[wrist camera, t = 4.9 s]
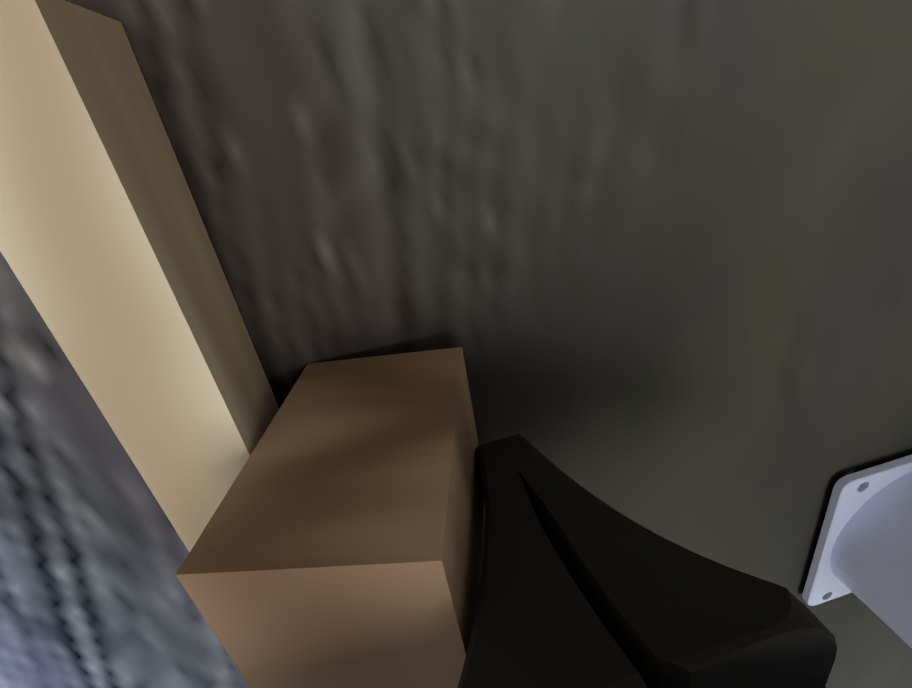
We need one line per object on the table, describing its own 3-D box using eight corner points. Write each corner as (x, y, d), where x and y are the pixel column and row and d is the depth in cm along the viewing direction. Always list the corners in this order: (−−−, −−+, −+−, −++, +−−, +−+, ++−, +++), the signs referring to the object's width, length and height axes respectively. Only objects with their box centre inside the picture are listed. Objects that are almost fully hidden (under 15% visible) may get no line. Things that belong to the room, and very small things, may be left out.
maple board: (120, 21, 9) (28, -14, 6) (391, 681, 19) (400, 773, 16) (1, 40, 8) (-150, 11, 6) (340, 698, 19) (341, 795, 16)
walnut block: (461, 346, 12) (441, 560, 7) (495, 539, 15) (499, 784, 10) (307, 363, 12) (175, 574, 7) (372, 546, 16) (314, 783, 10)
